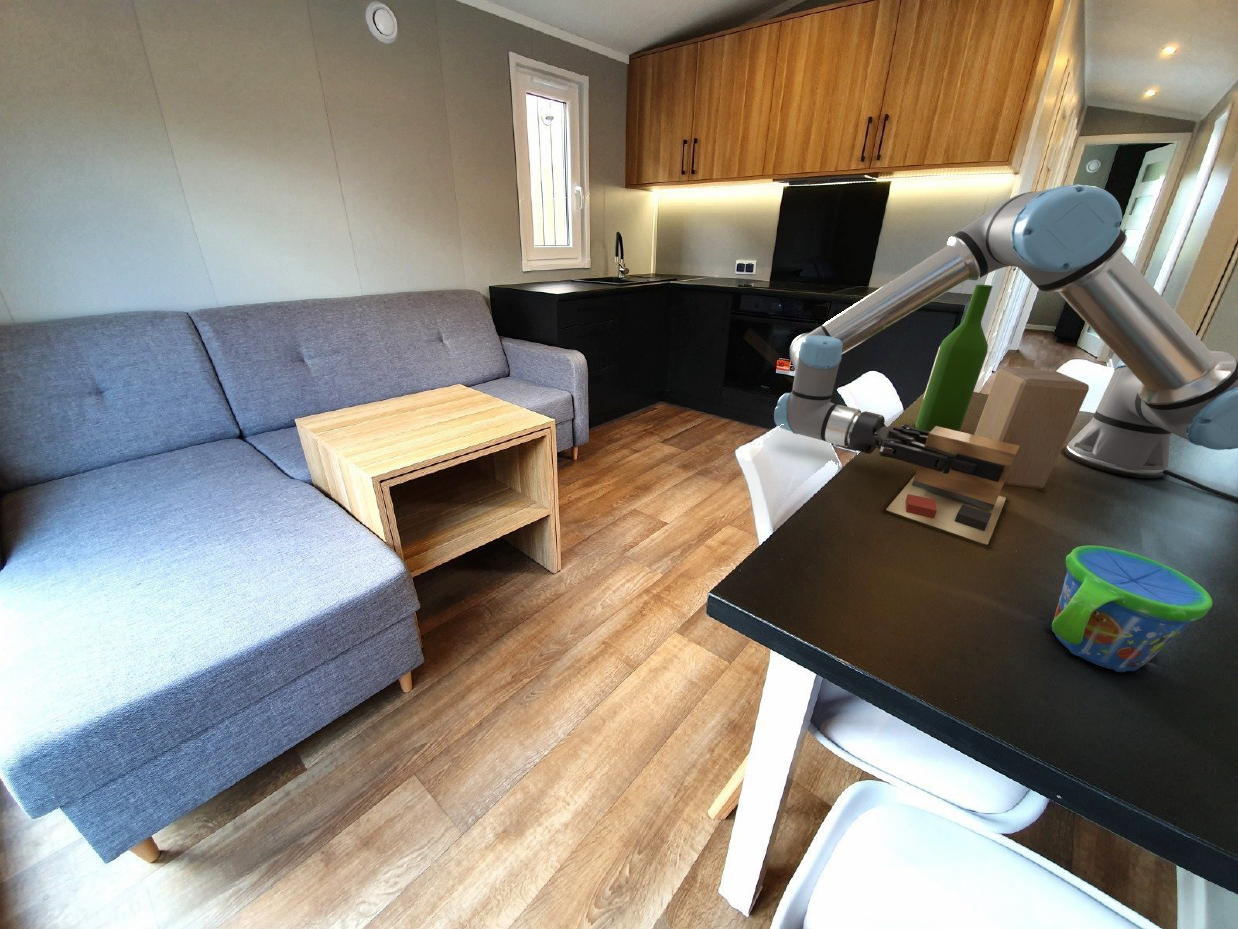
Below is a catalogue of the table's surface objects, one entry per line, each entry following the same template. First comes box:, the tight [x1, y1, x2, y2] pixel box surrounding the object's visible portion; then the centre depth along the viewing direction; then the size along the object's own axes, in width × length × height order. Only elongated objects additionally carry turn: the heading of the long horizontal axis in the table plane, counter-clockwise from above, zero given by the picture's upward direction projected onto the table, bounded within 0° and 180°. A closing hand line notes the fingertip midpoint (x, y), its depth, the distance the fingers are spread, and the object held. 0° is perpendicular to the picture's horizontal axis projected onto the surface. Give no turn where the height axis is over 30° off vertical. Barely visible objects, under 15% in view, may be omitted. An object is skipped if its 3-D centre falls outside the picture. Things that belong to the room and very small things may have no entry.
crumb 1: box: [905, 494, 937, 518], centre depth 80 cm, size 4×4×2 cm
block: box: [973, 366, 1090, 490], centre depth 89 cm, size 10×10×20 cm
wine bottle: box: [914, 284, 993, 432], centre depth 109 cm, size 9×9×32 cm
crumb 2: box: [955, 505, 992, 531], centre depth 77 cm, size 4×4×2 cm
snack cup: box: [1051, 545, 1213, 673], centre depth 52 cm, size 16×10×10 cm
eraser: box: [912, 426, 1019, 510], centre depth 83 cm, size 12×5×10 cm, turn 47°
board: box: [886, 475, 1007, 545], centre depth 82 cm, size 14×20×1 cm
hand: (1003, 468), depth 79 cm, fingers closed on eraser, 5 cm apart
